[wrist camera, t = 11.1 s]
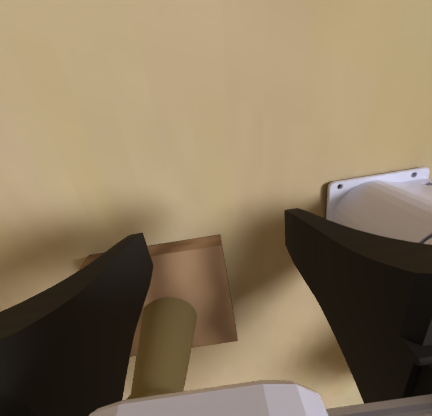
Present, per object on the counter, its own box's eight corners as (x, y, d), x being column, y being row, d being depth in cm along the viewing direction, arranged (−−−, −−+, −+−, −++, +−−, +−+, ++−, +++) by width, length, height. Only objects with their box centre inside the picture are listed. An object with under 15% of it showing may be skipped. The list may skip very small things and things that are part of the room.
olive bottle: (171, 342, 26) (151, 484, 16) (131, 317, 24) (80, 461, 14) (208, 317, 25) (210, 455, 15) (168, 288, 23) (140, 424, 13)
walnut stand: (220, 234, 23) (221, 245, 21) (235, 326, 29) (237, 340, 27) (89, 255, 23) (79, 267, 21) (130, 341, 29) (125, 357, 27)
